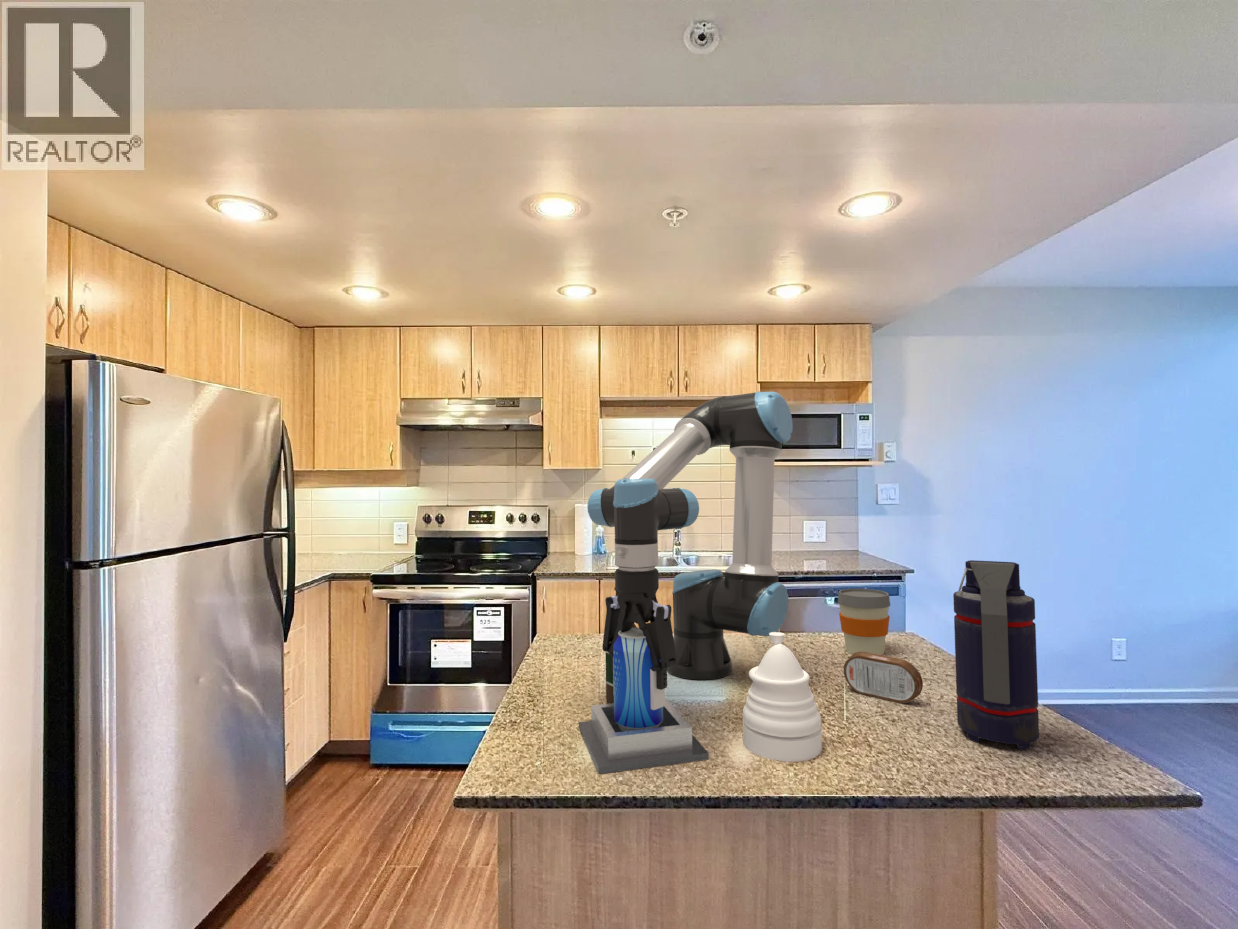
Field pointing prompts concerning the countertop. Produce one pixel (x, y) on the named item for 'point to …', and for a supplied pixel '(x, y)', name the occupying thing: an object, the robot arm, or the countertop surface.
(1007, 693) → the grenade
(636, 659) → the beer can
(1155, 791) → the countertop surface
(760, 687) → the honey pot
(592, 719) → the silver square tray
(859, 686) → the tin
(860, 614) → the reusable coffee cup
